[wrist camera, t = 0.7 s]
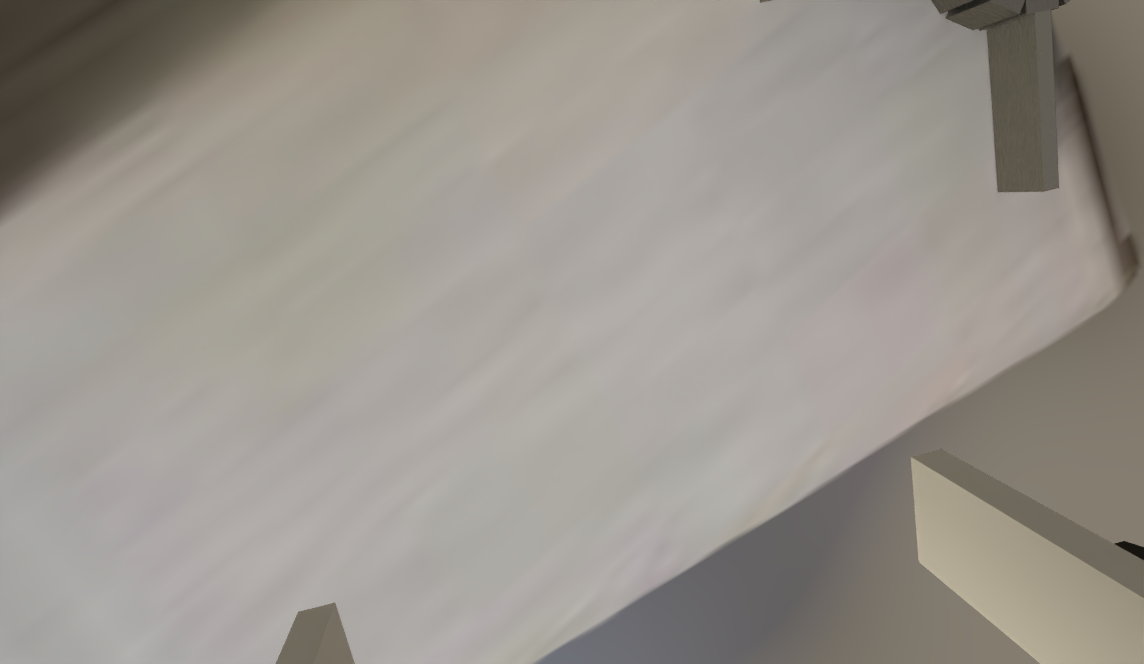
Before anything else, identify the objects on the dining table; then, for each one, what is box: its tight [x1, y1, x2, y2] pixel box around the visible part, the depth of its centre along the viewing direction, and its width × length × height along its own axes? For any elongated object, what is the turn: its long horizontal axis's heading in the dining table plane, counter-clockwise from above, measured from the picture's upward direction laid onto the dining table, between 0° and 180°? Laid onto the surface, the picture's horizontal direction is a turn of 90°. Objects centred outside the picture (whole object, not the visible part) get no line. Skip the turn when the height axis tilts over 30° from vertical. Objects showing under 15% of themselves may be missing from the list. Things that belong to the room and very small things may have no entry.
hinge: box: [760, 0, 1069, 192], centre depth 37 cm, size 19×19×4 cm
